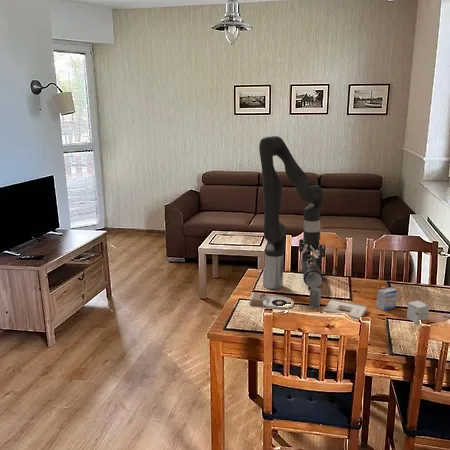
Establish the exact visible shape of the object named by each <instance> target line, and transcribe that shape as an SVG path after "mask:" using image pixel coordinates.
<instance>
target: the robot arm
mask: <svg viewBox="0 0 450 450" xmlns="http://www.w3.org/2000/svg"><path fill="white" fill-rule="evenodd" d="M258 149H259V158H260V163H261V164H260V165H261V173H262V174H261V176H262V198H263V199H262V200H263V212H264V221H263V222H264V223H263V224H264V225H263V236H264V239H265V241H266V242H267V243H266V247H265V252H264V254H265V255H264V268H263V269H262V287H265V288H266V289H269V290H280V289H282V288H283V286H284V285H283V284H284V283H283V282H284V281H283V280H284V279H283V278H284V258H285V257H284V256H285V255H284V253H285V249H286V238H287V237H286V236H287V230H286V227H285V225H284V224H283V223H282V222H280V211H281V210H280V209H281V206H282V201H283V184H282V183H283V182H282V181H281V179H280V177H279V174H278V173H277V171H276V169H275V166H274V157H275V156H276V157H278V158H279V159H280V160H281V161H282V163H283V165H284V172H285V174H286V177H288V179H289V180H290V181H291V183H292V184H293V185H294V187H295V188H296V192H297V194H298V196H299V197H300V199H301V200H302V201H303V202H305V203H308V205H307V206H306V207H304V209H303V238H302V239H299V240H298V242H299V243H298V245H299V246H298V251H299V252H301V254H302V258H303V261H304V262H305V261H307V255H308V252H312V253H313V254H314V255H315V257H316V259H317V266H319V267H320V266H321V265H322V262H323V261H322V259H323V258H325V257H326V245H325V244H324V243H323V244H321V243H320V240H321V220H320V218H321V213H320V210H321V208H322V205H323V199H324V192H323V191H324V190H323V188H322V187H321V186H320V185H318V184H315V185H314V184H313V185H308V183H309V175H307V174H306V172H304V170H303V169H302V168H301V167H300V165H299V164H298V162H296V160H295V158H294V156H293V155H292V153H291V151H290V150H289V148H288V146H287V145H286V143H285V141H284V139H283V138H282V137H280V136H277V135H275V136H264V137H262V138H261V139H260V142H259V147H258Z"/></svg>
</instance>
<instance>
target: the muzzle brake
mask: <svg viewBox="0 0 450 450" xmlns="http://www.w3.org/2000/svg"><path fill="white" fill-rule="evenodd" d="M300 261H301V262H300V263H301V264H300V265H301V270H302V276H303V282H304V285H306V286H307V287H309V288H310V289H311V288H312V287H315V288H320V286H321V285H322V284H323V281H324V276H323V274H322V272H321V269H320V266H317V257H316V255H315V256H314V255H313V254H307V261H305V262H304V261H303V257H302V258H301V259H300Z"/></svg>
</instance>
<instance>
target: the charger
mask: <svg viewBox="0 0 450 450" xmlns="http://www.w3.org/2000/svg"><path fill="white" fill-rule="evenodd" d="M321 296H322V288H320V287H317V288H315V287H312V288H310V289H309V298H308V299H309V301H308V303H309V305H308V306H309V307H311V308H316V309H318V308H319V307H320V305H321V303H322V302H321V298H322V297H321Z"/></svg>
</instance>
